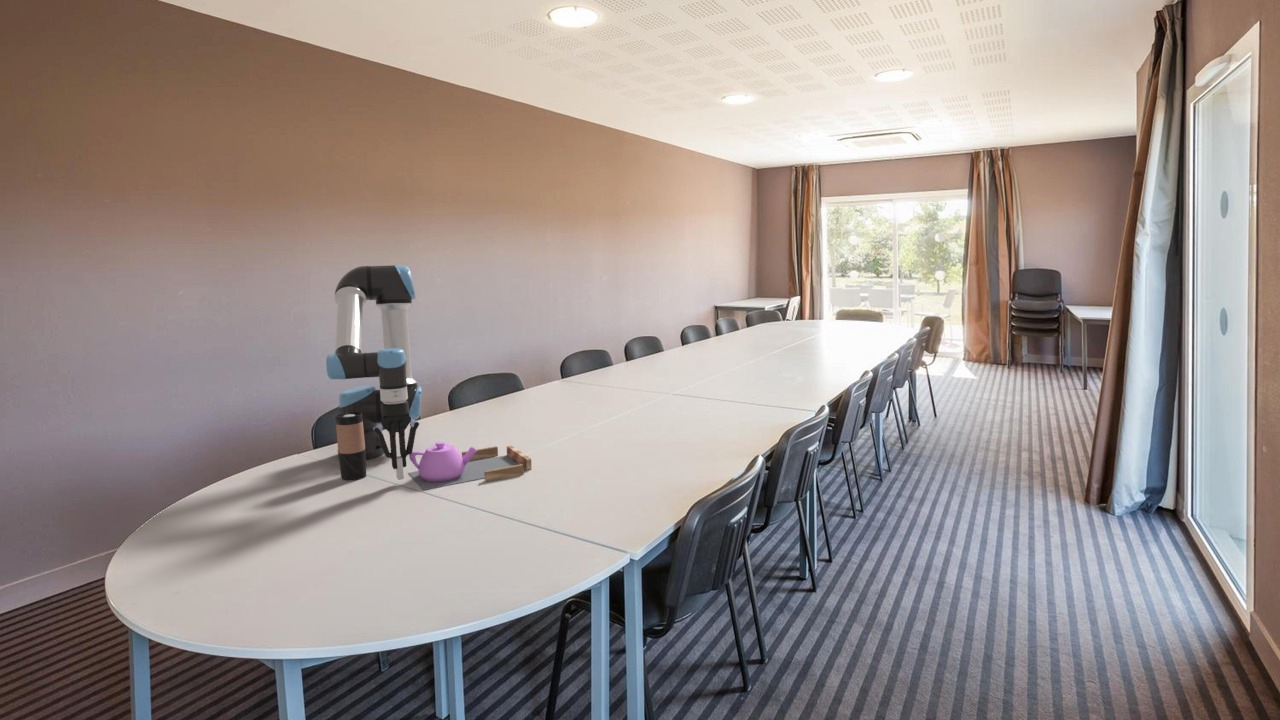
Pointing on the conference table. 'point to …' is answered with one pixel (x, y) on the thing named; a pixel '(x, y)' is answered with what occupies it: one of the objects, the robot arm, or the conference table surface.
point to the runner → (468, 472)
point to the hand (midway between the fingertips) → (400, 478)
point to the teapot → (441, 462)
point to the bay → (505, 471)
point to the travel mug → (351, 446)
